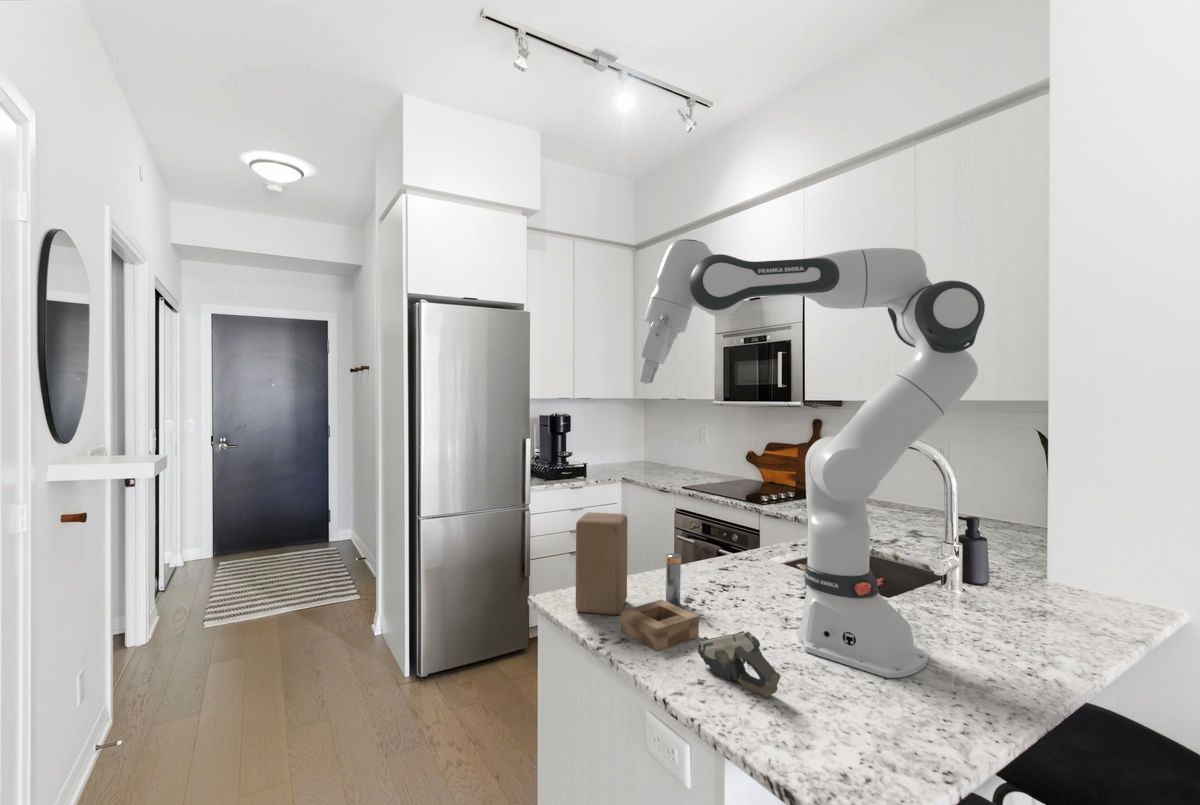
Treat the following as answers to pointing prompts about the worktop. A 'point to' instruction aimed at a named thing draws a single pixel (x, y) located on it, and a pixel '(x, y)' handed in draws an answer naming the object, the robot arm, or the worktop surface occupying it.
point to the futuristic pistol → (739, 661)
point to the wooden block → (601, 563)
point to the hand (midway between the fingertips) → (646, 382)
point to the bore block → (660, 624)
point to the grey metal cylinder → (673, 578)
